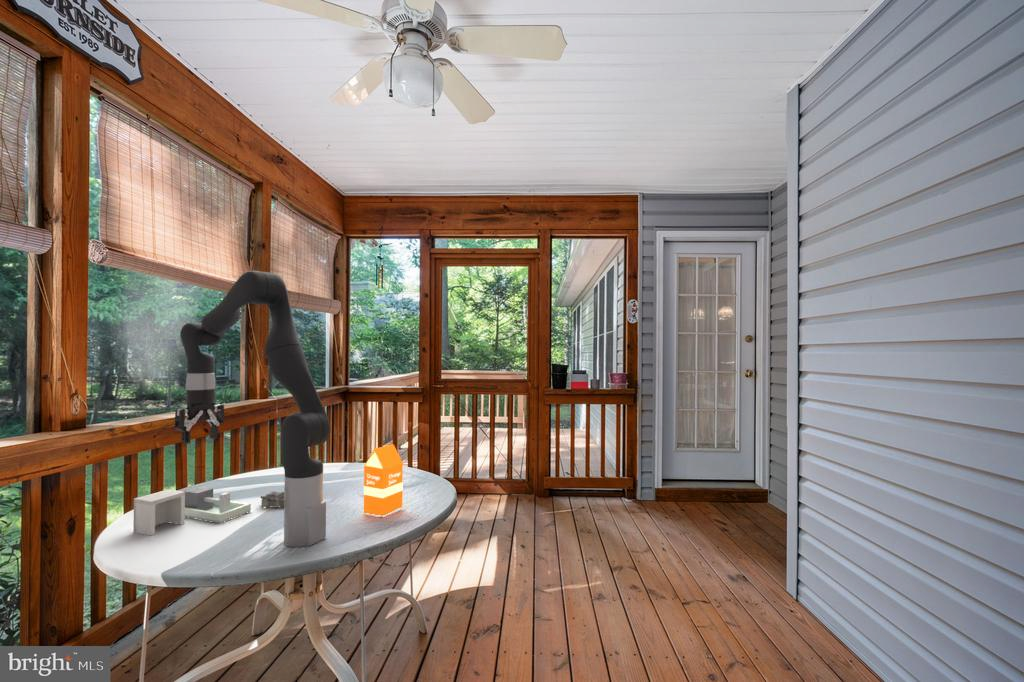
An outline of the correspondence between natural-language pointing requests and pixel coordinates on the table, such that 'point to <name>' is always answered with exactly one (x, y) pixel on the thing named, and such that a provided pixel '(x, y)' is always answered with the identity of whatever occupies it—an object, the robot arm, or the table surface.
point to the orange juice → (383, 481)
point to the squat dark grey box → (206, 499)
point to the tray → (214, 514)
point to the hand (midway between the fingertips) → (200, 440)
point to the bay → (158, 510)
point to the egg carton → (273, 499)
